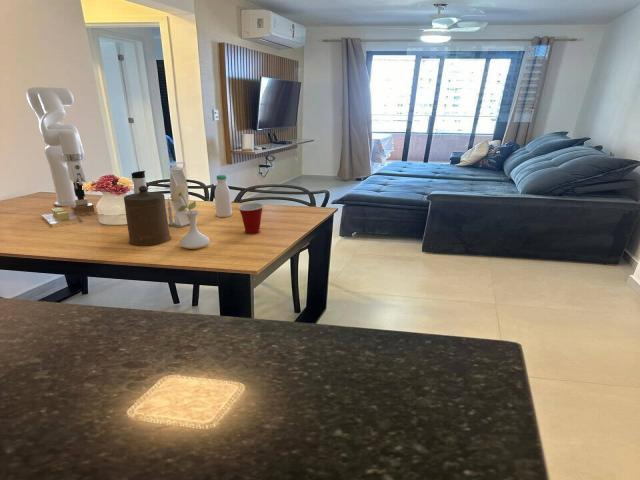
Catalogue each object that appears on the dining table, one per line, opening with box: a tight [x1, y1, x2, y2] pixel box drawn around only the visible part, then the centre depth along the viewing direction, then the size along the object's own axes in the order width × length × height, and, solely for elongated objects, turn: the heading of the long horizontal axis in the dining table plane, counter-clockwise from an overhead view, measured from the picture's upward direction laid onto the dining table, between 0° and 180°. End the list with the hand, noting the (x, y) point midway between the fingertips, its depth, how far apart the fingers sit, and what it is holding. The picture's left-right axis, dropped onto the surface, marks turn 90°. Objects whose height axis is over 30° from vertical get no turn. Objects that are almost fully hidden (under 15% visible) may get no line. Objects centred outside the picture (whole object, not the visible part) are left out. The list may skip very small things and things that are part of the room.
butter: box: [51, 207, 66, 218], centre depth 180 cm, size 7×4×3 cm, turn 45°
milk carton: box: [167, 161, 190, 229], centre depth 171 cm, size 8×8×28 cm
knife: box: [75, 185, 88, 207], centre depth 185 cm, size 5×2×15 cm, turn 135°
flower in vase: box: [169, 184, 211, 250], centre depth 143 cm, size 13×11×25 cm
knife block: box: [70, 202, 95, 216], centre depth 186 cm, size 5×9×5 cm, turn 135°
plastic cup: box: [237, 202, 264, 235], centre depth 164 cm, size 11×11×12 cm
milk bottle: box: [214, 174, 233, 218], centre depth 188 cm, size 8×8×20 cm
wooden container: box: [123, 185, 171, 247], centre depth 151 cm, size 15×15×22 cm
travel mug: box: [130, 170, 148, 194], centre depth 197 cm, size 6×7×20 cm
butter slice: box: [57, 212, 69, 220], centre depth 175 cm, size 2×4×3 cm, turn 135°
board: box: [41, 210, 82, 225], centre depth 178 cm, size 20×12×2 cm, turn 45°
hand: (80, 196), depth 184 cm, fingers closed
